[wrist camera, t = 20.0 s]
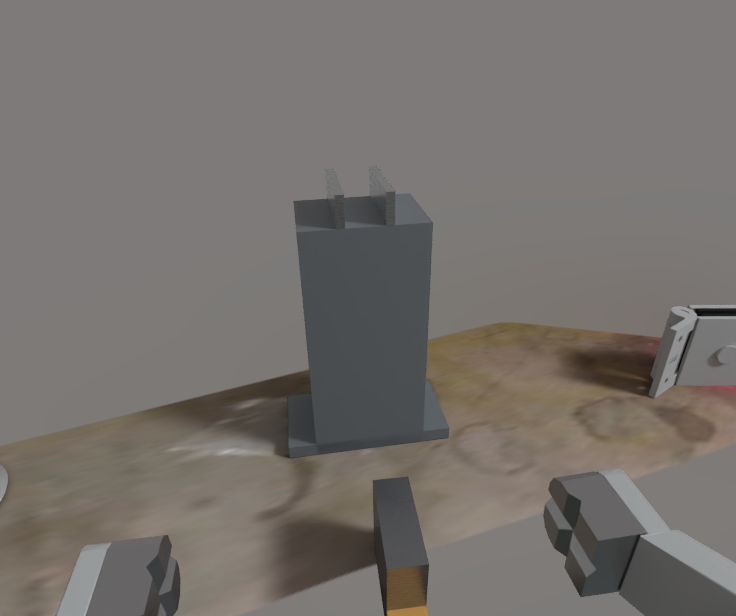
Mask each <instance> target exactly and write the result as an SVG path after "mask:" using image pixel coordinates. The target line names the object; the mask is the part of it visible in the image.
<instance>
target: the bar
mask: <svg viewBox="0 0 736 616" xmlns="http://www.w3.org/2000/svg"><path fill="white" fill-rule="evenodd" d="M373 512H374V545H375V552H376V559H377V566H378V573H379V580H380V587H381V595H382V601H383V608H384V615H385V616H428V612H427V607H426V601H427V586H428V585H427V584H428V570H429V563H428V559H427V555H426V550H425V546H424V542H423V537H422V533H421V529H420V525H419V521H418V516H417V512H416V508H415V504H414V499H413V495H412V491H411V487H410V483H409V478H408V477H401V478H391V479H381V480H373Z"/></svg>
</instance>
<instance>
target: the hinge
mask: <svg viewBox="0 0 736 616" xmlns="http://www.w3.org/2000/svg"><path fill="white" fill-rule="evenodd" d="M650 375H651V377H652V378H653V383H652V386H651V389H650V392H649V395H648V396H650V397H652V398H654V399H655V398H656V397H657V396H659V395H660V394H661V393H663V392H664V391H665V390H667V389H668V388H669V387H671V386H672V385H673V384H676V385H735V386H736V305H688V307H687V308H685V307H678V306H676V307H673V308H671V311H670V315H669V318H668V320H667V324H666V327H665V330H664V333H663V336H662V339H661V343H660V346H659V349H658V352H657V355H656V358H655V362H654V364H653V368H652V372H651V374H650Z"/></svg>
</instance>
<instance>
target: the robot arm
mask: <svg viewBox="0 0 736 616" xmlns="http://www.w3.org/2000/svg"><path fill="white" fill-rule="evenodd" d="M7 484H8V475H7V471H6V469H5V468H4V466H3V465H2V464H0V501H1V500H2V498H3V496H4V494H5V491H6V488H7ZM548 490H549V492H550V494H551V496H552V498H551V499H550V500H549V501H548V502H547V503H546V504H545V508H544V514H543V516H544V523H545V528H546V531H547V534H548V537H549V539H550V541H551V543H552V545H553V547H554V548H555V549H556V550H557V551H559V552H560V553H562V554H563V555H564V556H566V561H565V569H566V571H567V573H568V575H569V577H570V579H571V580H572V582H573V584H574V586H575V588H576V590H577V591H578V593H579V595H580V597H585V596H592V595H599V594H606V593H613V592H619V591H620V592H619V594H620V595H621V596H622V597H623V598H624V599H626V600H627V601H628V602H629V603H630V604H631V605H633V606H634V607H635V608H636V609H637V610H639V611H640V612H641V613H642V614H644V615H645V616H736V563H734V562H732V561H731V560H729V559H727V558H726V557H724V556H722V555H720V554H719V553H717V552H715V551H713V550H712V549H710V548H708V547H707V546H705V545H703V544H701V543H700V542H698V541H696V540H694V539H693V538H691V537H689V536H687V535H686V534H684V533H682V532H680V531H679V530H670V529H669V528H668V526H666V524H665V523H664V521H663V520H662V519H661V518H660V516H659V515H658V514H657V513H656V511H655V510H654V509H653V508H652V506H651V505H650V504H649V503H648V501H647V500H646V499H645V497H644V496H643V495H642V494H641V492H640V491H639V490H638V489H637V487H636V486H635V485H634V484H633V482H632V481H631V480H630V479H629V477H628V476H627V475H626V474H625V473H624V472H623V471H622V470H620V469H612V470H605V471H598V472H588V473H582V474H576V475H570V476H563V477H557V478H553V480H552V481H551V482H550V485H549V489H548ZM171 547H172V545H171V542H170V540H169V537H168V535H165V536H156V537H148V538H139V539H131V540H122V541H114V542H106V543H99V544H92V545H86V546H85V547H84V548H83V550H82V551H81V552H80V554H79V556H78V558H77V561H76V563H75V566H74V569H73V571H72V574H71V577H70V579H69V582H68V584H67V587H66V590H65V592H64V595H63V598H62V600H61V603H60V605H59V608H58V611H57V613H56V616H173V615H174V614H175V613H176V611H177V610H178V604H179V597H180V572H179V566H178V563H177V560H176V559H174V558H172V557H171V556H170V553H171Z"/></svg>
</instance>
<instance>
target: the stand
mask: <svg viewBox="0 0 736 616" xmlns="http://www.w3.org/2000/svg"><path fill="white" fill-rule="evenodd" d="M369 173H370V196H367V197H366V196H365V197H350V198H344V194H343V191H342V189H341V186H340V184H339V181H338V179H337V176H336V174H335V171H334V169H326V187H327V199H319V200H303V201H294V211H295V222H296V233H297V244H298V254H299V265H300V276H301V287H302V296H303V308H304V319H305V329H306V340H307V351H308V361H309V372H310V383H311V393H307V394H299V395H290V396H287V404H288V443H289V455H290V458H295V457H303V456H311V455H318V454H326V453H334V452H342V451H349V450H357V449H365V448H373V447H380V446H388V445H396V444H404V443H411V442H419V441H427V440H435V439H442V438H448V437H449V426H448V424H447V422H446V419H445V417H444V415H443V412H442V410H441V408H440V405H439V403H438V401H437V398H436V396H435V394H434V391H433V389H432V387H431V384H430V382H429V380H426V362H427V340H428V318H429V317H428V316H429V296H430V275H431V252H432V231H433V222H432V221H431V219H430V218H429V217H428V216H427V214H426V213H425V212H424V211H423V209H422V208H421V207H420V206H419V204H418V203H417V202H416V201H415V200H414V198H413V197H412V196H411V194H396V195H395V190H394V189H393V187H392V186H391V185H390V183H389V182H388V180H387V179H386V178H385V176H384V175H383V174H382V172H381V171H380V169H379V168H378V167H377V166H373V167H369Z"/></svg>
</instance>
